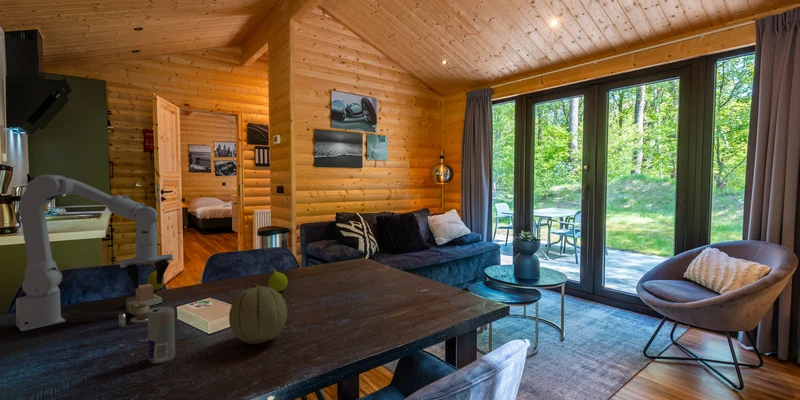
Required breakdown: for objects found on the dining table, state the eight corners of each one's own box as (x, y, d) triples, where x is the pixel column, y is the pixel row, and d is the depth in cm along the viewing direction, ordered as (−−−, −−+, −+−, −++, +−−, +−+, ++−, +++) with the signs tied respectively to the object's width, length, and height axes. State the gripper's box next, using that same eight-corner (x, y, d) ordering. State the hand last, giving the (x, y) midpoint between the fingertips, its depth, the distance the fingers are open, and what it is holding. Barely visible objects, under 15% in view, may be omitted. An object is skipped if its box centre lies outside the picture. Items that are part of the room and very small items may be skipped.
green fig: (268, 289, 150) (268, 264, 149) (287, 288, 152) (287, 263, 151) (268, 294, 143) (268, 268, 142) (287, 293, 145) (287, 267, 145)
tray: (135, 309, 125) (135, 303, 125) (126, 304, 130) (126, 299, 130) (162, 303, 131) (162, 297, 131) (153, 299, 136) (152, 293, 136)
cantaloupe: (252, 359, 91) (252, 297, 90) (216, 344, 98) (215, 287, 98) (299, 337, 103) (299, 283, 103) (264, 326, 111) (263, 276, 110)
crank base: (120, 328, 109) (120, 315, 109) (113, 323, 113) (113, 311, 112) (157, 319, 117) (157, 307, 116) (149, 314, 120) (149, 303, 120)
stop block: (140, 305, 128) (139, 288, 127) (136, 303, 130) (135, 286, 130) (153, 302, 131) (153, 285, 131) (149, 300, 133) (148, 283, 133)
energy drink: (156, 354, 93) (155, 305, 92) (179, 353, 93) (178, 305, 93) (143, 364, 88) (142, 313, 87) (167, 363, 88) (166, 312, 87)
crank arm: (151, 316, 116) (151, 303, 116) (137, 319, 113) (137, 306, 113) (136, 308, 124) (136, 296, 123) (123, 311, 121) (123, 299, 121)
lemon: (167, 289, 149) (167, 268, 149) (157, 293, 144) (157, 272, 143) (154, 288, 150) (154, 268, 149) (144, 292, 144) (143, 271, 144)
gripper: (124, 248, 114) (125, 293, 115) (176, 242, 126) (177, 283, 126) (116, 246, 118) (117, 288, 119) (167, 240, 130) (168, 279, 131)
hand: (147, 285), depth 123 cm, fingers open, 6 cm apart
